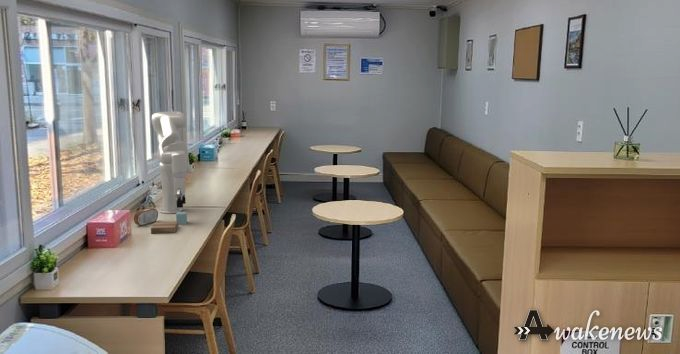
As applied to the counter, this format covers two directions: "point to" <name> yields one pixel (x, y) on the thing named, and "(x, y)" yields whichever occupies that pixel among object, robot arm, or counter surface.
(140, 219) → the wooden speaker
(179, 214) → the block
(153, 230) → the base
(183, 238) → the counter surface
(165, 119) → the robot arm
